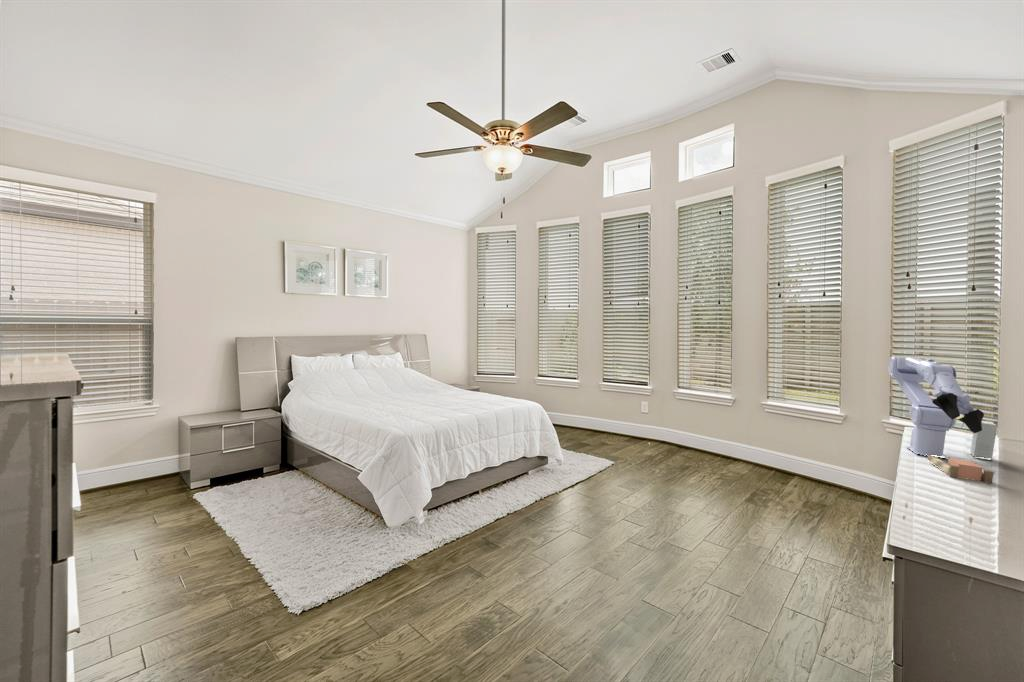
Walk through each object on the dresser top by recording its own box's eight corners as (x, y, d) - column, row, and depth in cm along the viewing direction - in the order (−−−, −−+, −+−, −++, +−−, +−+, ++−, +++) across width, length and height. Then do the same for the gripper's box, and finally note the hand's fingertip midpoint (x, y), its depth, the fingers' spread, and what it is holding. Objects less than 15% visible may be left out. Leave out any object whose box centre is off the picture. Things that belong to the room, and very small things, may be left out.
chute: (927, 461, 139) (928, 451, 139) (964, 466, 136) (965, 456, 136) (950, 476, 126) (951, 465, 126) (992, 483, 122) (993, 472, 122)
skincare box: (992, 461, 143) (997, 425, 142) (973, 458, 146) (978, 422, 145) (987, 457, 148) (992, 421, 147) (969, 453, 151) (974, 419, 150)
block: (947, 471, 131) (949, 457, 131) (969, 474, 129) (971, 461, 129) (956, 477, 126) (958, 464, 126) (980, 481, 124) (982, 467, 124)
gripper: (943, 373, 135) (960, 403, 125) (983, 398, 135) (1003, 431, 125) (919, 385, 140) (934, 416, 130) (958, 409, 140) (975, 442, 130)
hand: (966, 424), depth 128 cm, fingers open, 7 cm apart
